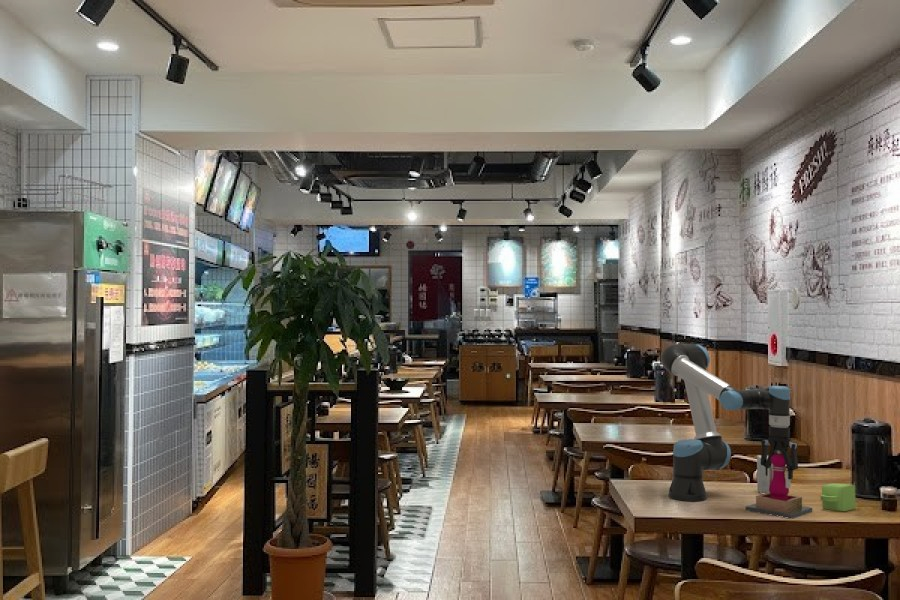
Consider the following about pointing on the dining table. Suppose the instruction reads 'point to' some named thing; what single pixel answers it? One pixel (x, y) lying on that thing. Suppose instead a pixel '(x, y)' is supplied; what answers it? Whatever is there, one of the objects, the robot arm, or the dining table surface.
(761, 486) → the skincare box
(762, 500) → the plate
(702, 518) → the dining table surface
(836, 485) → the green bread box
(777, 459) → the pepper mill
